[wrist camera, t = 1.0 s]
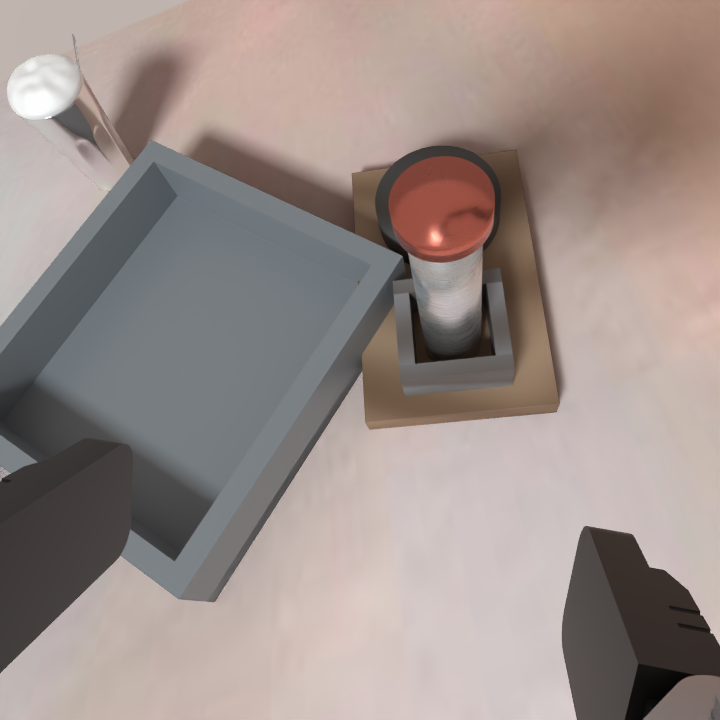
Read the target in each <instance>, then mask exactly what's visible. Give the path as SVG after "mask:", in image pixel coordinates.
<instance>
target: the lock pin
mask: <svg viewBox="0 0 720 720" xmlns="http://www.w3.org/2000/svg"><path fill="white" fill-rule="evenodd" d="M388 205H389V212H390V217H391V222H392V227H393V231H394V234H395V237H396V239H397V241H398V243H399V244H400V245H401V246H402V248H403V249H404V250H406V251H407V252H408V255H409V261H410V266H411V272H412V277H413V283H414V288H415V293H416V299H417V304H418V310H419V315H420V321H421V326H422V332H423V337H424V343H425V348H426V351H427V354H428V355H429V357H430V358H431V359H432V360H433V361H434V362H438V361H447V360H457V359H466V358H475V357H476V356H477V355H478V353H479V350H480V346H481V309H482V252H483V244H484V243H485V241H486V240H487V238H488V237H489V235H490V233H491V230H492V228H493V223H494V207H495V193H494V188H493V185H492V182H491V180H490V179H489V177H488V176H487V174H486V173H485V172H484V171H483V170H482V169H481V168H480V167H478V166H477V165H475V164H474V163H472V162H470V161H468V160H465V159H462V158H458V157H452V156H438V157H432V158H428V159H425V160H422V161H420V162H417V163H415V164H414V165H412V166H410V167H409V168H408V169H406V170H405V171H404V172H403V173H402V174H401V175H400V176H399V177H398V179H397V180H396V181H395V183H394V185H393V187H392V189H391V191H390V195H389V202H388Z"/></svg>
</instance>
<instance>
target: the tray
mask: <svg viewBox="0 0 720 720" xmlns="http://www.w3.org/2000/svg"><path fill="white" fill-rule="evenodd" d="M405 279H407V275H406V270H405V265H404V260H403V256H402V255H399V254H397V253H395V252H393V251H391V250H389V249H386V248H384V247H382V246H380V245H378V244H376V243H373V242H371V241H369V240H367V239H365V238H362V237H360V236H358V235H356V234H354V233H352V232H349V231H347V230H345V229H343V228H341V227H339V226H336V225H334V224H332V223H330V222H328V221H326V220H323V219H321V218H319V217H317V216H315V215H313V214H310V213H308V212H306V211H304V210H302V209H300V208H297V207H295V206H293V205H291V204H289V203H287V202H284V201H282V200H280V199H278V198H276V197H274V196H271V195H269V194H267V193H265V192H263V191H261V190H258V189H256V188H254V187H252V186H250V185H248V184H245V183H243V182H241V181H239V180H237V179H234V178H232V177H230V176H228V175H226V174H224V173H221V172H219V171H217V170H215V169H213V168H211V167H208V166H206V165H204V164H202V163H200V162H198V161H195V160H193V159H191V158H189V157H187V156H185V155H182V154H180V153H178V152H176V151H174V150H172V149H169V148H167V147H165V146H163V145H161V144H159V143H156V142H154V141H152V140H151V141H150V142H149V143H148V144H147V146H146V147H145V148H144V149H143V151H142V152H141V153H140V154H139V155H138V157H137V158H136V159H135V160H134V162H133V163H132V164H131V165H130V167H129V168H128V169H127V170H126V172H125V173H124V174H123V175H122V177H121V178H120V179H119V180H118V182H117V183H116V184H115V185H114V186H113V188H112V189H111V190H110V191H109V193H108V194H107V195H106V196H105V198H104V199H103V200H102V201H101V203H100V204H99V205H98V206H97V208H96V209H95V210H94V211H93V213H92V214H91V215H90V216H89V217H88V219H87V220H86V221H85V222H84V224H83V225H82V226H81V227H80V229H79V230H78V231H77V232H76V234H75V235H74V236H73V237H72V239H71V240H70V241H69V242H68V244H67V245H66V246H65V247H64V248H63V250H62V251H61V252H60V253H59V255H58V256H57V257H56V258H55V260H54V261H53V262H52V263H51V265H50V266H49V267H48V268H47V270H46V271H45V272H44V273H43V275H42V276H41V277H40V278H39V279H38V281H37V282H36V283H35V284H34V286H33V287H32V288H31V289H30V291H29V292H28V293H27V294H26V296H25V297H24V298H23V299H22V301H21V302H20V303H19V304H18V306H17V307H16V308H15V309H14V310H13V312H12V313H11V314H10V315H9V317H8V318H7V319H6V320H5V322H4V323H3V324H2V325H1V327H0V466H1V467H3V468H4V469H5V470H7V471H8V472H10V473H13V472H15V471H17V470H18V469H20V468H22V467H24V466H27V465H30V464H34V463H37V462H41V461H44V460H47V459H50V458H51V457H53V456H55V455H56V454H58V453H60V452H62V451H63V450H65V449H67V448H69V447H70V446H72V445H74V444H75V443H77V442H79V441H81V440H82V439H84V438H94V439H100V440H105V441H111V442H117V443H122V444H127V445H129V447H130V448H131V450H132V454H133V476H132V503H131V526H130V532H129V537H128V540H127V543H126V545H125V548H124V550H123V552H122V553H121V555H120V556H122V557H123V558H124V559H126V560H127V561H128V562H130V563H131V564H132V565H134V566H135V567H136V568H138V569H139V570H140V571H142V572H143V573H144V574H146V575H147V576H148V577H150V578H151V579H152V580H154V581H155V582H156V583H158V584H159V585H160V586H162V587H163V588H164V589H166V590H167V591H168V592H170V593H171V594H172V595H174V596H175V597H176V598H178V599H182V600H194V601H206V602H215V600H216V599H217V597H218V596H219V594H220V593H221V591H222V589H223V588H224V586H225V585H226V583H227V582H228V580H229V578H230V577H231V575H232V574H233V572H234V571H235V569H236V567H237V566H238V564H239V563H240V561H241V560H242V558H243V556H244V555H245V553H246V552H247V550H248V549H249V547H250V545H251V544H252V542H253V541H254V539H255V538H256V536H257V535H258V533H259V531H260V530H261V528H262V527H263V525H264V524H265V522H266V520H267V519H268V517H269V516H270V514H271V513H272V511H273V509H274V508H275V506H276V505H277V503H278V502H279V500H280V498H281V497H282V495H283V494H284V492H285V491H286V489H287V487H288V486H289V484H290V483H291V481H292V480H293V478H294V477H295V475H296V473H297V472H298V470H299V469H300V467H301V466H302V464H303V462H304V461H305V459H306V458H307V456H308V455H309V453H310V451H311V450H312V448H313V447H314V445H315V444H316V442H317V440H318V439H319V437H320V436H321V434H322V433H323V431H324V429H325V428H326V426H327V425H328V423H329V422H330V420H331V419H332V417H333V415H334V414H335V412H336V411H337V409H338V408H339V406H340V404H341V403H342V401H343V400H344V398H345V397H346V395H347V393H348V392H349V390H350V389H351V387H352V386H353V384H354V382H355V381H356V379H357V378H358V376H359V375H360V373H361V371H362V370H363V369H362V354H363V352H364V351H365V349H366V347H367V346H368V344H369V343H370V341H371V340H372V338H373V337H374V335H375V333H376V332H377V330H378V329H379V327H380V326H381V324H382V323H383V321H384V319H385V318H386V316H387V315H388V313H389V312H390V310H391V309H392V307H393V305H394V293H393V281H397V280H405ZM358 281H360V283H359V285H358Z"/></svg>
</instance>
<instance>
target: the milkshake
mask: <svg viewBox="0 0 720 720" xmlns="http://www.w3.org/2000/svg"><path fill="white" fill-rule="evenodd" d="M72 36H73V42H74V48H75V55H76V61H77V64H76V63H75V62H74V61H73V60H72V59H70V58H68V57H66V56H63V55H57V54H45V55H40V56H36V57H33V58H31V59H29V60H28V61H26V62H24V63H23V64H21V65H20V66H18V67H17V68H16V69H15V70H14V72H13V73H12V75H11V77H10V79H9V82H8V86H7V95H8V100H9V103H10V106H11V107H12V109H13V110H14V111H15V112H16V113H17V114H18V115H19V116H20V117H21V118H22V119H23V120H24V121H25V122H26V123H28V124H29V125H30V126H31V127H32V128H33V129H34V130H35V131H36V132H38V133H39V134H40V135H41V136H42V137H43V138H44V139H46V140H47V141H48V142H49V143H50V144H52V145H53V146H54V147H55V148H56V149H57V150H58V151H59V152H60V153H62V154H63V155H64V156H65V157H66V158H67V159H68V160H69V161H70V162H71V163H72V164H73V165H74V166H75V167H76V168H77V169H78V170H79V171H80V172H81V173H82V174H83V175H84V176H85V177H86V178H87V179H88V180H89V181H90V182H91V183H93V184H94V185H95V186H96V187H97V188H98V189H99V190H107V191H110V190H111V189H112V188H113V186H114V185H115V184H116V183H117V182H118V180H119V179H120V178H121V177H122V175H123V174H124V173H125V172H126V170H127V169H128V168H129V167H130V165H131V164H132V163H133V162H134V160H133V158H132V157H131V155H130V153H129V152H128V150H127V148H126V147H125V145H124V143H123V142H122V140H121V138H120V137H119V135H118V133H117V132H116V130H115V128H114V127H113V125H112V123H111V122H110V120H109V119H108V117H107V115H106V114H105V112H104V110H103V109H102V107H101V105H100V104H99V102H98V100H97V98H96V97H95V95H94V93H93V91H92V89H91V88H90V86H89V84H88V82H87V80H86V79H85V77H84V75H83V73H82V72H81V70H80V66H79V60H78V54H77V48H76V41H75V37H74V35H73V34H72Z"/></svg>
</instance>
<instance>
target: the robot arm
mask: <svg viewBox="0 0 720 720" xmlns="http://www.w3.org/2000/svg"><path fill="white" fill-rule="evenodd" d="M132 476H133V454H132V450H131V448H130V447H129V445H127V444H122V443H117V442H111V441H105V440H100V439H94V438H84V439H82V440H81V441H79V442H77V443H75V444H74V445H72V446H70V447H69V448H67V449H65V450H63V451H62V452H60V453H58V454H56V455H55V456H53V457H51V458H50V459H47V460H44V461H41V462H37V463H34V464H30V465H27V466H24V467H22V468H20V469H18V470H17V471H15V472H13V473H11V474H9V475H8V476H6V477H4V478H2V481H1V482H0V673H1V672H2V671H3V670H4V669H5V668H6V667H7V666H8V665H9V664H10V663H11V662H12V661H13V660H14V659H15V658H16V657H17V656H18V655H19V654H20V653H21V652H22V651H23V650H24V649H25V648H26V647H27V646H29V645H30V644H31V643H32V642H33V641H34V640H35V639H36V638H37V637H38V636H39V635H40V634H41V633H42V632H43V631H44V630H45V629H46V628H47V627H48V626H49V625H50V624H51V623H52V622H53V621H54V620H55V619H56V618H57V617H58V616H59V615H60V614H61V613H62V612H64V611H65V610H66V609H67V608H68V607H69V606H70V605H71V604H72V603H73V602H74V601H75V600H76V599H77V598H78V597H79V596H80V595H81V594H82V593H83V592H84V591H85V590H86V589H87V588H88V587H89V586H90V585H91V584H92V583H93V582H94V581H95V580H96V579H97V578H98V577H100V576H101V575H102V574H103V573H104V572H105V571H106V570H107V569H108V568H109V567H110V566H111V565H112V564H113V563H114V562H115V561H116V560H117V559H118V558H119V556H120V555H121V553H122V552H123V550H124V548H125V545H126V543H127V540H128V537H129V532H130V526H131V503H132ZM562 648H563V654H564V659H565V663H566V668H567V673H568V678H569V683H570V688H571V693H572V698H573V702H574V707H575V712H576V717H577V720H720V645H719V643H718V642H717V640H716V638H715V636H714V635H713V634H711V633H710V628H709V626H708V624H707V622H706V621H705V619H704V617H703V616H701V615H700V610H699V608H698V607H697V605H696V603H695V601H694V600H693V598H692V596H691V594H690V593H689V591H688V590H687V589H686V588H685V587H684V586H682V585H681V584H680V583H679V582H678V581H677V580H675V579H674V578H673V577H672V576H671V575H670V574H668V573H667V572H666V571H665V570H661V569H656V568H650V567H649V566H648V564H647V561H646V559H645V557H644V555H643V553H642V551H641V549H640V547H639V545H638V543H637V541H636V539H635V537H634V536H633V535H632V534H629V533H623V532H617V531H612V530H606V529H600V528H595V527H589V526H585V527H584V528H583V530H582V532H581V534H580V538H579V542H578V546H577V551H576V556H575V561H574V566H573V570H572V575H571V580H570V585H569V589H568V594H567V599H566V604H565V609H564V614H563V623H562Z"/></svg>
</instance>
